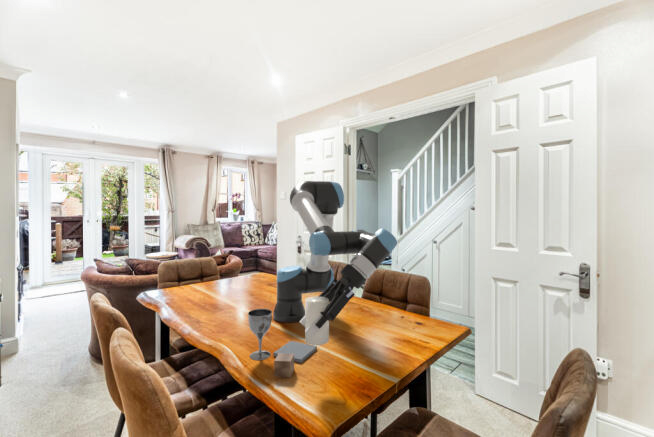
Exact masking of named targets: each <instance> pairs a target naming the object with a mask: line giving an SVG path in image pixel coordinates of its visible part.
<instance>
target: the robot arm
mask: <svg viewBox="0 0 654 437" xmlns="http://www.w3.org/2000/svg"><path fill="white" fill-rule="evenodd" d="M344 194H345V193H344V190H343V187H342V185H341V184H340V183H338V182H336V181H327V180H325V181H323V180H322V181H320V180H319V181H316V180H315V181H314V180H313V181H312V180H305V181H302V182H299V183H298V184H296V185H295V186H294V187H293V188H292V190H291V191H290V195H289V203H290V206H291V207H292V209H293V210H294V211H295V212H297V213H298V214H299V216H300V218H301V220H302V222H303V224H304V225H305V227H306V230H307V232H309V234H310V236H309V240H308V244H309V245H308V246H309V250H310V257H309V258H310V259H309V261H308V262H306V268H303V267H302V266H301V265H289V266H285V267H282V268H280V269H279V270H278V271H277V274H276V280H275V281H276V303H275V306H274V310H273V312H272V317H273V318H272V319H274V320H275V321H276V322H281V323H294V322H295V323H296V322H299V323H300V325H302V326H303V327H304V328H305V304H304V302H303V298H302V297H303V294H312V293H320V294H319V295H317V297H326V298H328V299H329V305H328V306H327V308H326V309H325V311H324V312H320V315H319V316H318V317H317V318H316V319H315V320H314V321H313V322H312V323H311V325H310V326H309V327H308V328H307V329H306V330H305V329H304V332H306V333H307V334H308V335H309V336H310V337H311V338H312V337H313V336H314V335H315V334H316V333H317V332H318V331H319V330H320V328H321V327H322V326H323V325H324V324H325V323H326V322H327V321H329V322H330V321H331V322H333V321H334V320H335V319H336V318H337V316H338V315H339V314H340V312H342V310H343V309H344V308H345V307H346V305H347V304H348V302H349V301H351V299H352V298H354V296H356V295H355V292H353V290H354V288H355V289H356V290H357V289H358V290H359V289H360V288H361V287H362V286H363V285H364V283H366V279H370V277H371V276H372V275H373V273H374V272H376V270H377V269H378V268H379V266H381V265H382V263H383V262H384V261H385V260H386V259H387V258H389V257H388V256H390V255H391V254H392V252H393V251H394V250H395V248H396V247H397V245H398V240H397V237H395V236H394V235H393V233H391V232H390V231H389V230H387V229H385V228H379V229H378V230H376V231H375V232H374V233H371V232H368V231H366V230H364V229H357V228H356V229H353V230H349V231H334V229H333V225H334V223H333V222H334V218H335V217H334V216H336V215H337V214H338V211H339V209H341V208H343V206H344V205H345V204H344V203H345V195H344ZM352 254H353V258H352V259H351V260H350V261H349V263H348V264H346V265H345V266H344V267H343V268H342V269H341V271H340V275H341V276H342V277H341V278H339V279H338V280H337V278H335V275H334V274H335V273H334V269H333V268H332V267H331V265H330V263H329V259H330V258H329V257H330V256H334V255H352Z"/></svg>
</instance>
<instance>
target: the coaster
mask: <svg viewBox="0 0 654 437" xmlns="http://www.w3.org/2000/svg"><path fill="white" fill-rule="evenodd" d="M317 346H318V345H311V344H308V343H304V342H299V341H294V340H289V341H288V342H286V343H285V344H284V345H283V346H281V347H280V348H278V349H277V350H276V351H273V357H275V358H276V357H277V355H278V353H287V354H294V363H299V364H302V363H303V362H304V361H305V360H306V359H308V358H309V357H310V356H311V355H312V354H313V353H315V351H317V350H318V348H317Z"/></svg>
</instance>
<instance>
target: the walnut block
mask: <svg viewBox="0 0 654 437" xmlns="http://www.w3.org/2000/svg"><path fill="white" fill-rule="evenodd" d="M273 365H274V366H273V375H274V376H273V377H274V378H285V377H288V378H289V379H290V378H291V377H292V375H293V373H294V371H295V361H294V354H287V353H278V355H277V357H275V359H274V361H273Z"/></svg>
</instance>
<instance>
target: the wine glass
mask: <svg viewBox="0 0 654 437" xmlns="http://www.w3.org/2000/svg"><path fill="white" fill-rule="evenodd" d="M247 314H248V315H247V319H248V325H249V329H250V331H251V332H252V333H253V334H254V335H255V336H256V338H257V340H258V350H256V351H253V352H252V353H250V354H249V358H250V360H254V361H264V360H267V359H268V358H270V357H271V354H272V353H271V352H270V351H269V350H263V349H262V345H263V344H262V343H263V338H264V336H266V334H267V332H269V330H270V328H271V325H272V321H273V320H272V319H273V318H272V317H273V312H272V310H271V309H269V308H255V309H252V310H250V311H248V313H247Z"/></svg>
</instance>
